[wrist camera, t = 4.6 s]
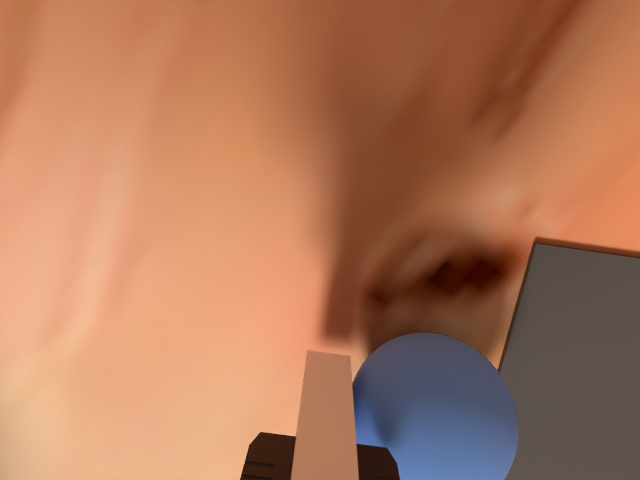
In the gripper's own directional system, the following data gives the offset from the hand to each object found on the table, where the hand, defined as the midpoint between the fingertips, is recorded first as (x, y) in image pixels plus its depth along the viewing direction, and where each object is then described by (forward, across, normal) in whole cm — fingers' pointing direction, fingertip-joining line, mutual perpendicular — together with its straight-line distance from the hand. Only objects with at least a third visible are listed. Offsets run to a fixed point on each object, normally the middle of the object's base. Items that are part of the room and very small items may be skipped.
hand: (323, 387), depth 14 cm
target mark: (+2, -13, 0) cm, 13 cm away
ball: (0, -4, 0) cm, 4 cm away
